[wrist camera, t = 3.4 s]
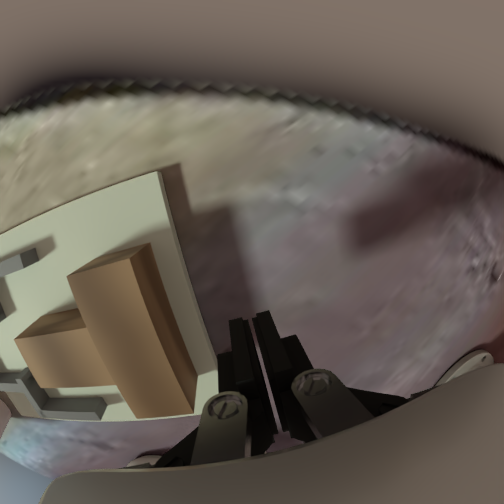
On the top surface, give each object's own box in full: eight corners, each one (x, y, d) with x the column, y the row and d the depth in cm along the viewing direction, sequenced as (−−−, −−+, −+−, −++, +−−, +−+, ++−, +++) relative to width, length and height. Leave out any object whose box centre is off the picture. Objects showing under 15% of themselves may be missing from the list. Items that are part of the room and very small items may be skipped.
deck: (161, 172, 17) (147, 168, 14) (232, 399, 21) (233, 426, 18) (-44, 262, 16) (-64, 270, 13) (25, 409, 20) (14, 426, 17)
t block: (150, 242, 16) (129, 258, 12) (197, 375, 19) (193, 413, 15) (27, 279, 16) (-5, 297, 12) (79, 388, 18) (61, 418, 14)
